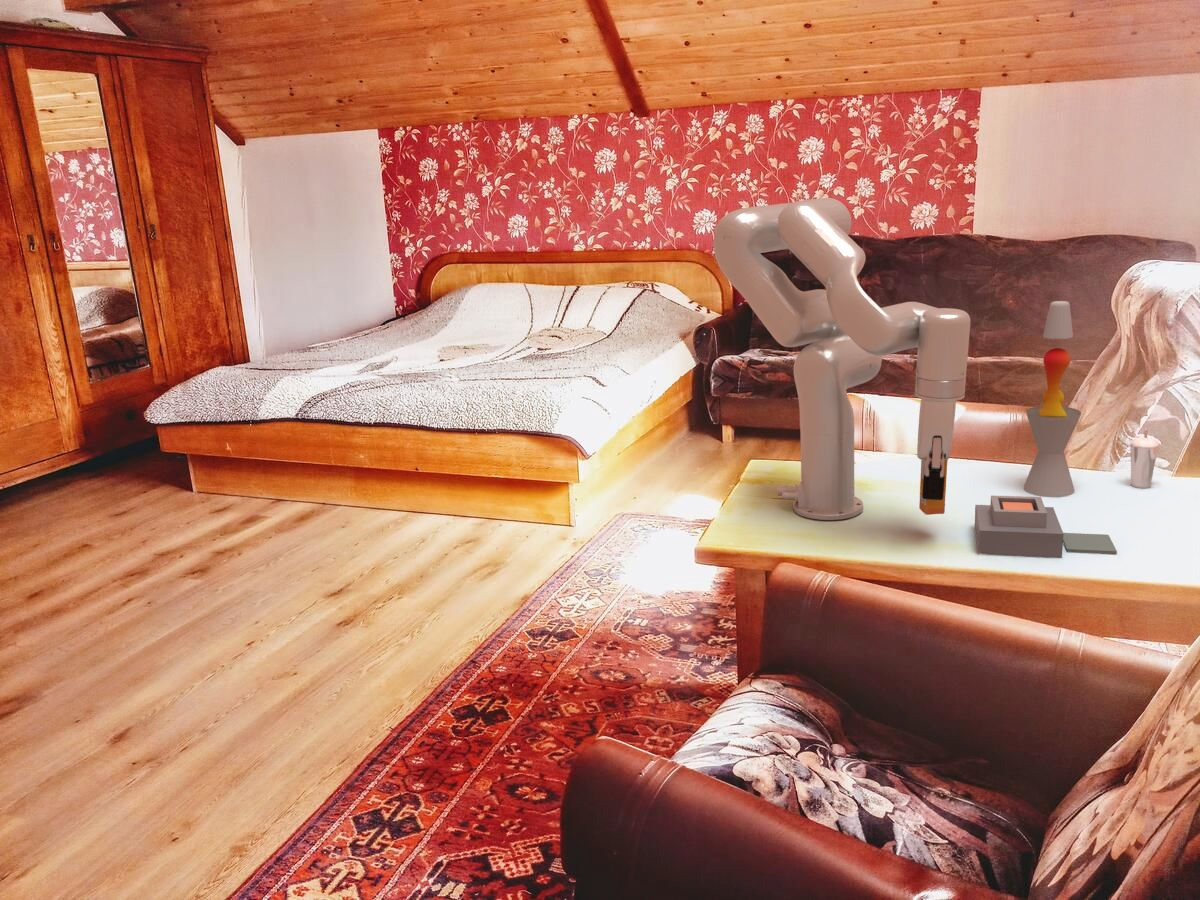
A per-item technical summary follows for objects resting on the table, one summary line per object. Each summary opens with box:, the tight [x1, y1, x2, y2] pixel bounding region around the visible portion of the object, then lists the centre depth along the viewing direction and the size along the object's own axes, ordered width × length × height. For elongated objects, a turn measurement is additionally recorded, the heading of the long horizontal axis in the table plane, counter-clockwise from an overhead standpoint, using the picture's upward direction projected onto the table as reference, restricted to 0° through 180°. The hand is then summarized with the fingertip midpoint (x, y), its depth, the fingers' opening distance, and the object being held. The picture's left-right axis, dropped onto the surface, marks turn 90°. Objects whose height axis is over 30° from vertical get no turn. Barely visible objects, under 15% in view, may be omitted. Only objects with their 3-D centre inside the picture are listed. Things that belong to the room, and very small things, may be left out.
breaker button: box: [1002, 502, 1034, 511], centre depth 150 cm, size 4×4×3 cm
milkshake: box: [1129, 428, 1160, 489], centre depth 171 cm, size 4×5×10 cm
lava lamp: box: [1023, 300, 1082, 498], centre depth 169 cm, size 9×9×35 cm
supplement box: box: [919, 453, 949, 516], centre depth 154 cm, size 3×3×10 cm
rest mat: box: [1063, 532, 1118, 555], centre depth 148 cm, size 7×7×1 cm
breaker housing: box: [974, 495, 1064, 559], centre depth 151 cm, size 12×12×6 cm
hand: (932, 492), depth 154 cm, fingers closed on supplement box, 3 cm apart
